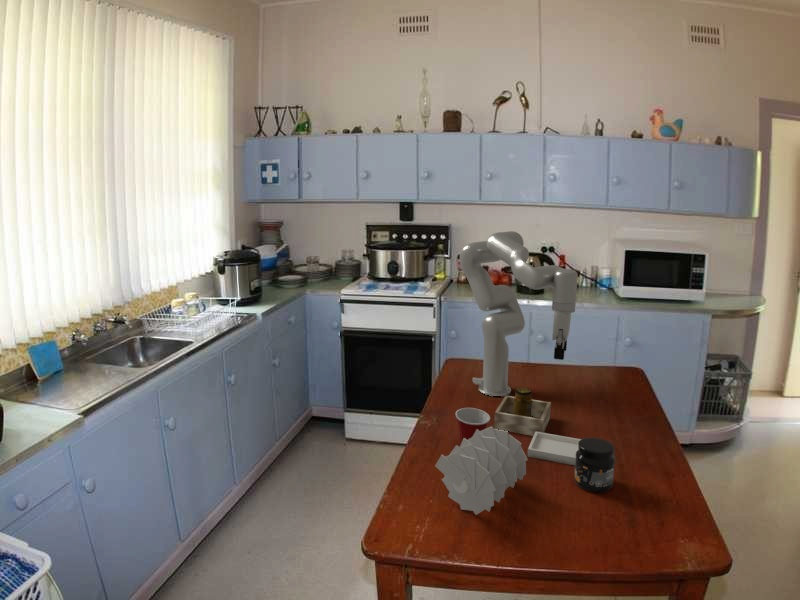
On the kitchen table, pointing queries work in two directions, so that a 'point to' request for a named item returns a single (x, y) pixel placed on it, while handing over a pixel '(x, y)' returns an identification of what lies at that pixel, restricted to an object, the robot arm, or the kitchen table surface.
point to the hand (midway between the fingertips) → (560, 354)
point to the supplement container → (594, 465)
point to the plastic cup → (471, 421)
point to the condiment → (522, 402)
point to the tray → (553, 448)
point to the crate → (522, 417)
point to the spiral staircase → (482, 469)
